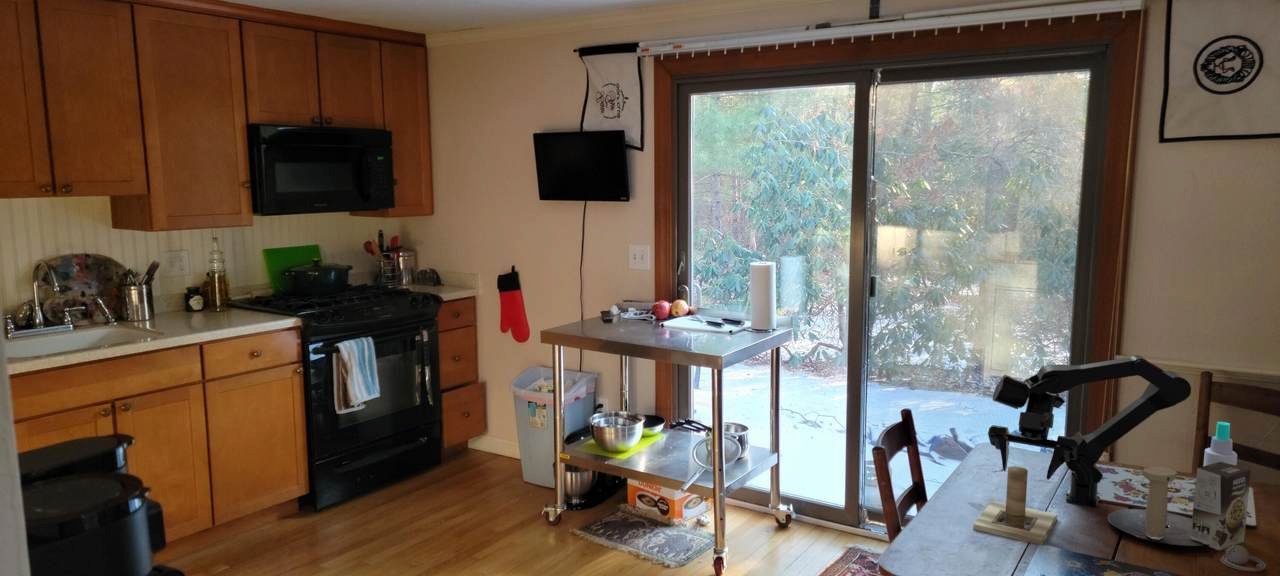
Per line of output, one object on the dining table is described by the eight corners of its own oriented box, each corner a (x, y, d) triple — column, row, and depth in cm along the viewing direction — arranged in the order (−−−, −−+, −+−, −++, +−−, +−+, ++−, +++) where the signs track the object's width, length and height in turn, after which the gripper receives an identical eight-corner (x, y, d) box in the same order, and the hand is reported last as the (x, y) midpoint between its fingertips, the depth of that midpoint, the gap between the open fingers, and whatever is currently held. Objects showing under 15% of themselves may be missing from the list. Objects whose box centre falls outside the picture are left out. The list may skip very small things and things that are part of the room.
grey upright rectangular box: (1220, 551, 180) (1227, 476, 177) (1188, 539, 185) (1195, 467, 183) (1245, 542, 184) (1253, 469, 181) (1213, 530, 189) (1220, 459, 187)
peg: (1007, 520, 196) (1010, 465, 194) (1026, 524, 193) (1029, 468, 192) (1002, 526, 193) (1005, 470, 191) (1022, 531, 190) (1025, 474, 188)
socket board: (991, 505, 204) (992, 499, 204) (1056, 519, 196) (1057, 513, 196) (973, 529, 191) (973, 523, 191) (1041, 544, 183) (1042, 538, 183)
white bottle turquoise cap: (1218, 524, 192) (1228, 428, 189) (1192, 514, 198) (1201, 421, 195) (1237, 520, 195) (1246, 425, 191) (1210, 510, 200) (1219, 418, 197)
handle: (1176, 541, 184) (1182, 474, 182) (1149, 544, 183) (1155, 476, 181) (1158, 532, 189) (1164, 466, 187) (1132, 534, 188) (1138, 468, 186)
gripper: (992, 391, 204) (977, 449, 197) (1079, 404, 194) (1068, 466, 187) (998, 415, 212) (984, 472, 205) (1083, 428, 201) (1071, 489, 194)
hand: (1025, 474), depth 197 cm, fingers open, 9 cm apart
